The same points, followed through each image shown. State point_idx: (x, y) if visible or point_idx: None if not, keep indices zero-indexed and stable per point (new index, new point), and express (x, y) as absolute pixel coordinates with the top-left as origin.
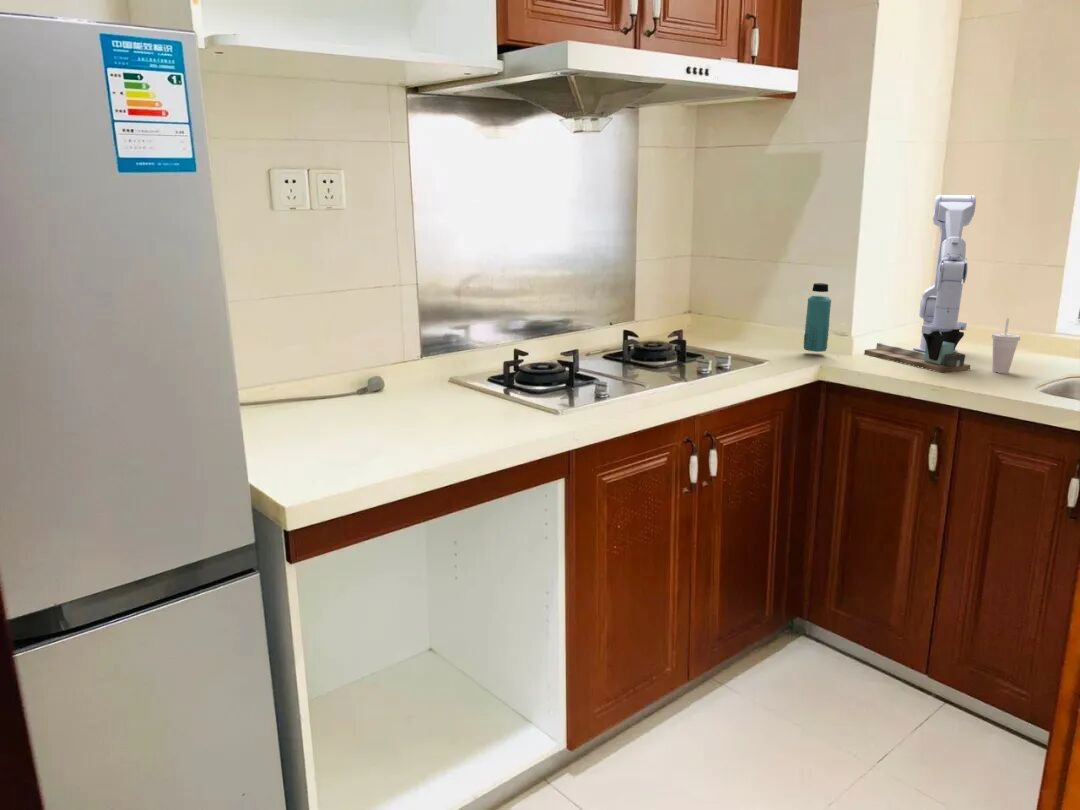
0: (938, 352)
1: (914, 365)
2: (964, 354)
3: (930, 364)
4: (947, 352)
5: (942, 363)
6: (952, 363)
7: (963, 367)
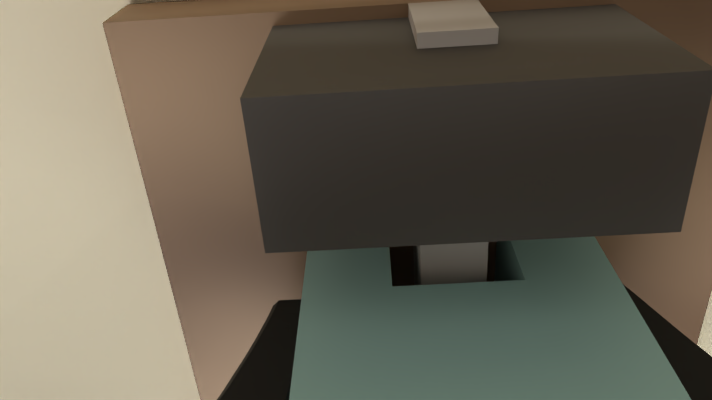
0: (685, 357)
1: None
2: (267, 97)
3: (677, 258)
4: (477, 328)
5: None
6: (594, 26)
7: (285, 7)
